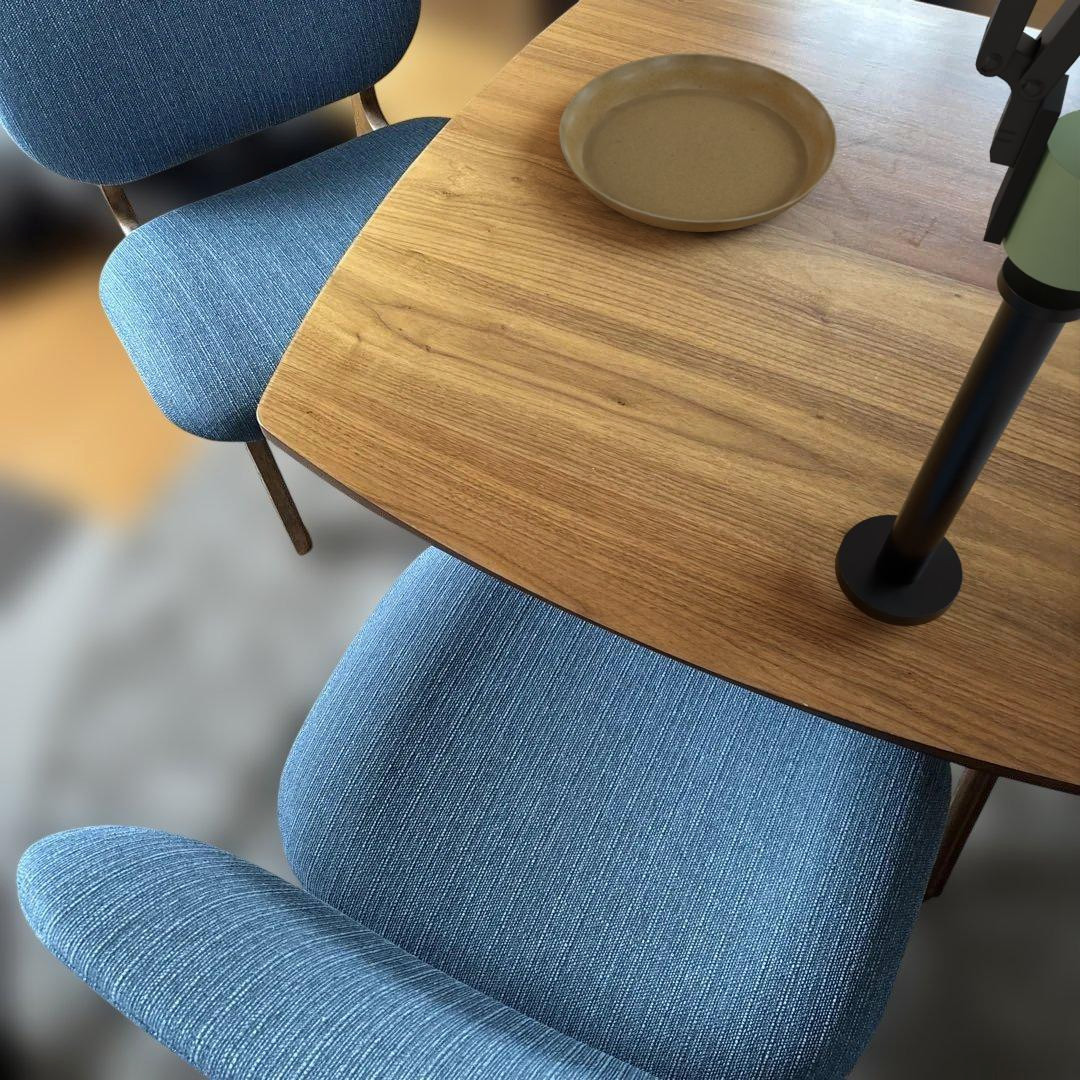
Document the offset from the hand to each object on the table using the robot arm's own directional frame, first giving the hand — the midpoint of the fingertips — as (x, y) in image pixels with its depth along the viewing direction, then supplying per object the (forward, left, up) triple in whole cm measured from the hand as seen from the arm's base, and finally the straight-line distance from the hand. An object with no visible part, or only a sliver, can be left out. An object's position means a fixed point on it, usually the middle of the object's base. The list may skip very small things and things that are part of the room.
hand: (1069, 240), depth 45 cm
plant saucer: (+44, -7, -28) cm, 53 cm away
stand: (0, 0, -28) cm, 28 cm away
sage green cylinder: (0, 0, 0) cm, 0 cm away
